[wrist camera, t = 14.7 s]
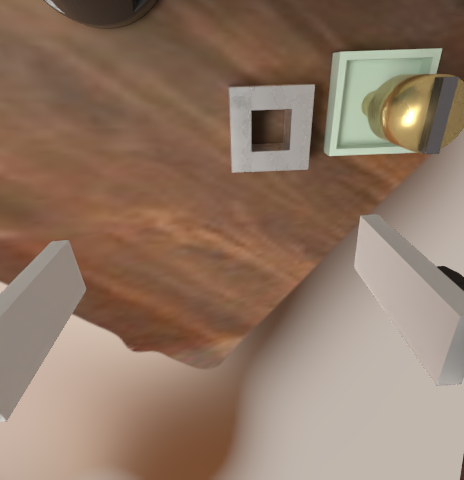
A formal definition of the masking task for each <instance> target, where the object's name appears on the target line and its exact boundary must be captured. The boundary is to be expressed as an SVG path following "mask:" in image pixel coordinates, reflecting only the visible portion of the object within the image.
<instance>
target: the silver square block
mask: <svg viewBox="0 0 464 480" xmlns="http://www.w3.org/2000/svg"><path fill="white" fill-rule="evenodd" d="M314 91H315V84H278V85H249V86H228V98H229V128H230V159H231V169H232V172H257V171H281V170H306V169H308V165H309V153H310V140H311V128H312V116H313V103H314ZM277 109H284V124H283V143H268V144H251V110H277Z"/></svg>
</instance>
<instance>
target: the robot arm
mask: <svg viewBox="0 0 464 480" xmlns="http://www.w3.org/2000/svg"><path fill="white" fill-rule="evenodd" d="M44 1H45V2H46V3H47V4H49V5H50V6H51V7H52V8H54V9H55V10H56V11H58V12H59V13H61V14H63V15H64V16H66V17H68V18H70V19H72V20H74V21H77V22H79V23H82V24H85V25H88V26H91V27H96V28H104V29H111V28H119V27H123V26H126V25H129V24H131V23H133V22H135V21H137V20H138V19H140V18H141V17H143V16H144V15H145V14H146V13H147V12H148V11H149V10H150V9H151V8H152V7H153V6H154V4H155V3H156V2H157V0H44ZM354 268H355V270H356V271H357V272H358V274H359V275H360V277H361V278H362V280H363V281H364V282H365V284H366V285H367V287H368V288H369V290H370V291H371V293H372V294H373V296H374V297H375V298H376V300H377V301H378V303H379V304H380V306H381V307H382V308H383V310H384V311H385V313H386V314H387V316H388V317H389V318H390V320H391V321H392V323H393V324H394V326H395V327H396V328H397V330H398V332H399V333H400V334H401V336H402V337H403V339H404V340H405V342H406V343H407V344H408V346H409V347H410V349H411V350H412V352H413V353H414V355H415V356H416V357H417V359H418V360H419V362H420V363H421V365H422V366H423V368H424V369H425V370H426V372H427V373H428V375H429V376H430V378H431V379H432V380H433V382H434V383H435V385H436V386H441V385H455V384H461V383H462V381H463V379H464V277H463V276H462V275H460V274H459V273H457V272H455V271H453V270H451V269H449V268H447V267H445V266H438V267H436V266H435V265H434V264H433V263H432V262H430V261H429V260H428V259H427V258H426V257H425V256H424V255H423V254H421V253H420V252H419V251H418V250H417V249H416V248H415V247H414V246H413V245H411V244H410V243H409V242H408V241H407V240H406V239H405V238H404V237H402V236H401V235H400V234H399V233H398V232H397V231H396V230H395V229H393V228H392V227H391V226H390V225H389V224H388V223H387V222H386V221H385V220H383V219H382V218H381V217H380V216H379V215H378V214H374V215H362V216H360V223H359V231H358V239H357V247H356V255H355V263H354ZM85 291H86V287H85V284H84V281H83V279H82V276H81V273H80V270H79V267H78V265H77V262H76V259H75V256H74V254H73V251H72V248H71V245H70V242H69V240H64V241H52V242H51V243H50V244H49V245H48V246H47V247H46V248H45V249H44V250H43V251H42V252H41V253H40V254H39V255H38V256H37V257H36V258H35V259H34V260H33V261H32V262H31V263H30V264H29V265H28V266H27V267H26V268H25V269H24V270H23V271H22V272H21V273H20V274H19V275H18V276H17V277H16V278H15V279H14V280H13V281H12V282H11V283H10V284H9V285H8V286H7V287H6V289H5V290H4V291H3V292H2V293H1V294H0V422H6V421H7V420H8V418H9V417H10V415H11V413H12V412H13V410H14V409H15V407H16V405H17V403H18V402H19V400H20V399H21V397H22V395H23V394H24V392H25V390H26V389H27V387H28V385H29V384H30V382H31V380H32V379H33V377H34V376H35V374H36V372H37V371H38V369H39V367H40V366H41V364H42V362H43V360H44V359H45V357H46V356H47V354H48V352H49V351H50V349H51V347H52V346H53V344H54V342H55V341H56V339H57V337H58V336H59V334H60V333H61V331H62V329H63V328H64V326H65V324H66V323H67V321H68V319H69V318H70V316H71V314H72V313H73V311H74V309H75V308H76V306H77V304H78V303H79V301H80V300H81V298H82V296H83V295H84V293H85ZM460 480H464V456H463V463H462V470H461V477H460Z"/></svg>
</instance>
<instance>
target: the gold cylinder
mask: <svg viewBox="0 0 464 480" xmlns="http://www.w3.org/2000/svg"><path fill="white" fill-rule="evenodd" d="M361 109H362V112H363V114H364V115H365V116H367V117H368V123H369V126H370V129H371V130H372V132H373V133H374V134H375V135H376V136H377V137H379V138H380V139H383V140H385V141H388V142H390V143H393V144H395V145H398V146H400V147H403V148H405V149H408V150H410V151H413V152H417V153H424V154H439V151H440V149H441V148H443V147H444V146H446V145H448V144H449V143H450V142H451V141H452V140H454V139H455V138H456V137H457V136H458V134H459V133H460V132H461V131H462V129H463V128H464V82H463V81H462V80H461V79H460V78H459V77H456V76H454V75H449V74H403V75H398V76H395V77H393V78H391V79H389V80H387V81H386V82H385V83H383V84H382V85H381V86H380V87H379V88H378V89H377V91H372V92H370V93H368V94H367V95H366V96H365V98H364V99H363V101H362V105H361Z"/></svg>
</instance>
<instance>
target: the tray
mask: <svg viewBox="0 0 464 480" xmlns="http://www.w3.org/2000/svg"><path fill="white" fill-rule="evenodd" d="M441 52H442V48H436V49H406V50H376V51H346V52H336V53H333V58H332V68H331V78H330V88H329V98H328V108H327V118H326V128H325V137H324V147H323V152H324V153H326V154H327V155H328V156H342V155H368V154H393V153H417V152H413V151H410V150H408V149H405V148H403V147H400V146H398V145H395V144H393V143H390V142H388V141H385V140H383V139H380V138H379V137H377V136H376V135H375V134H374V133H373V132H372V130H371V129H370V126H369V123H368V117H367V116H365V115H364V114H363V112H362V109H361V105H362V101H363V99H364V98H365V96H366V95H367V94H368V93H370V92H372V91H377V89H378V88H379V87H380V86H381V85H382V84H383V83H385V82H386V81H387V80H389V79H391V78H393V77H395V76H398V75H403V74H437V69H438V65H439V61H440V57H441Z"/></svg>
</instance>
